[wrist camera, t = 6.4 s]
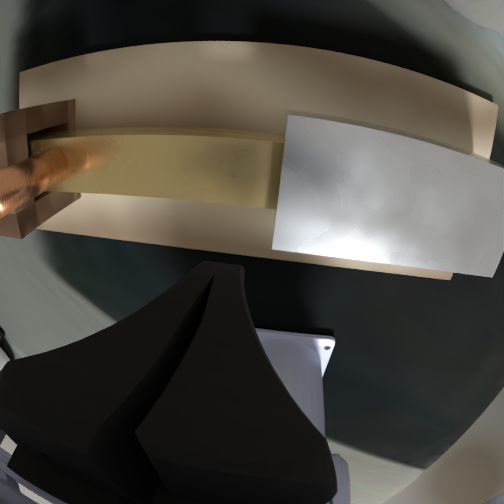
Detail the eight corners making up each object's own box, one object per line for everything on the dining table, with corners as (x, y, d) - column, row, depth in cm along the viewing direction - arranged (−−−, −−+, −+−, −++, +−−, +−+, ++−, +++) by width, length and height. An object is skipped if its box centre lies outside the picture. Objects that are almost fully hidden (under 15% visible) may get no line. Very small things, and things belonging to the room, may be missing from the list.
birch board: (447, 275, 20) (450, 279, 19) (37, 225, 21) (33, 228, 21) (493, 104, 13) (498, 105, 13) (24, 71, 15) (19, 72, 14)
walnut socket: (81, 197, 19) (21, 238, 13) (35, 195, 19) (-22, 231, 14) (75, 98, 16) (3, 113, 10) (27, 107, 16) (-39, 126, 10)
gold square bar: (327, 196, 16) (356, 280, 9) (39, 175, 17) (-45, 224, 10) (336, 141, 15) (380, 186, 8) (35, 134, 16) (-56, 171, 9)
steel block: (451, 231, 17) (492, 277, 12) (276, 203, 18) (271, 249, 13) (473, 152, 15) (527, 178, 10) (287, 109, 15) (287, 114, 10)
